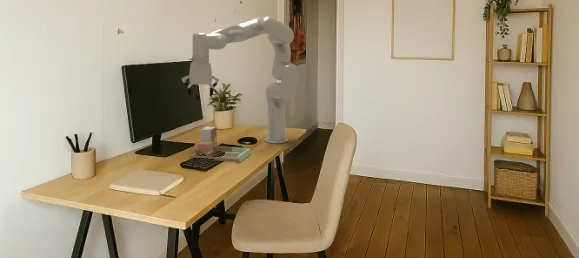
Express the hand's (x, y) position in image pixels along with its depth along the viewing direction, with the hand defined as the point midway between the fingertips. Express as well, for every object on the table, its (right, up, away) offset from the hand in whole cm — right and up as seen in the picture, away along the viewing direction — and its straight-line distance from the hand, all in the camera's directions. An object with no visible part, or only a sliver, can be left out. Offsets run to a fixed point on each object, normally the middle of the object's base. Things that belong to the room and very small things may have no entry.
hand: (200, 96), depth 202 cm
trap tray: (+10, -28, -3) cm, 30 cm away
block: (+2, -27, +2) cm, 27 cm away
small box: (+2, -25, +13) cm, 28 cm away
